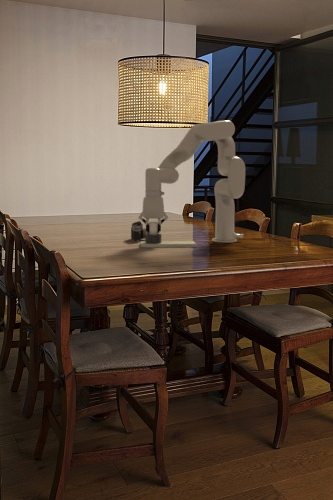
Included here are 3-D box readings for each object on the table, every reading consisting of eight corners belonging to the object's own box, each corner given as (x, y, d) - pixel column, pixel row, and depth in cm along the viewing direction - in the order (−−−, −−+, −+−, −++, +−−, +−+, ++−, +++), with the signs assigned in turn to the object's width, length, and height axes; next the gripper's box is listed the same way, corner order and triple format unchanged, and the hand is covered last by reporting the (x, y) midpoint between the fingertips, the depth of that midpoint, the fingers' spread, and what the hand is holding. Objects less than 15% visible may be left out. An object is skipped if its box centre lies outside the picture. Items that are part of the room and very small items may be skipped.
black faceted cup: (160, 241, 277) (160, 233, 276) (161, 243, 269) (161, 235, 269) (145, 241, 276) (145, 233, 276) (145, 243, 269) (145, 235, 268)
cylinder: (157, 236, 275) (157, 221, 273) (158, 237, 270) (158, 222, 269) (148, 236, 274) (148, 221, 273) (148, 237, 270) (148, 222, 269)
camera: (150, 242, 285) (150, 222, 283) (134, 242, 283) (134, 222, 282) (146, 238, 300) (146, 219, 298) (130, 238, 298) (130, 219, 297)
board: (193, 244, 279) (193, 241, 279) (196, 247, 269) (196, 243, 269) (140, 244, 277) (140, 241, 277) (141, 247, 268) (141, 244, 267)
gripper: (170, 194, 274) (170, 231, 276) (135, 194, 272) (135, 232, 275) (171, 194, 266) (171, 233, 269) (135, 194, 265) (135, 233, 268)
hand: (153, 232), depth 272 cm, fingers closed on cylinder, 4 cm apart
